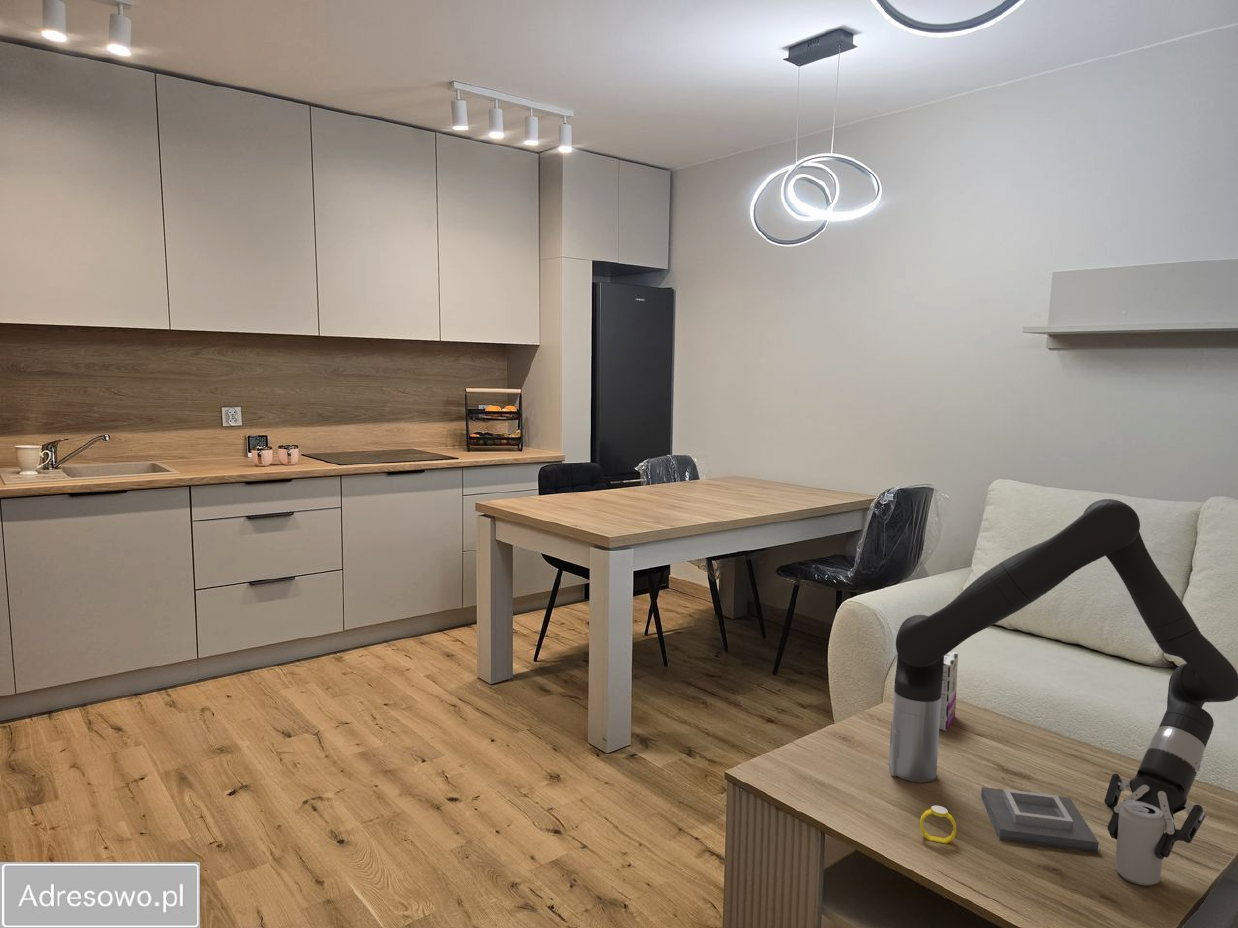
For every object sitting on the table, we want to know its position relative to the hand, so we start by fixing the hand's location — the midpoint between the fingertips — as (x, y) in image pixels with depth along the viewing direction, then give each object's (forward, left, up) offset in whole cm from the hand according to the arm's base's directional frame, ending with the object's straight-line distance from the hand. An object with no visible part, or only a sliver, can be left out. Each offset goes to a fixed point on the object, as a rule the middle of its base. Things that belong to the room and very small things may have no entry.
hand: (1135, 846), depth 133 cm
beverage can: (+1, +1, -6) cm, 6 cm away
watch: (-30, +4, -6) cm, 31 cm away
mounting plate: (-11, +15, -6) cm, 20 cm away
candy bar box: (-21, +60, -6) cm, 64 cm away
